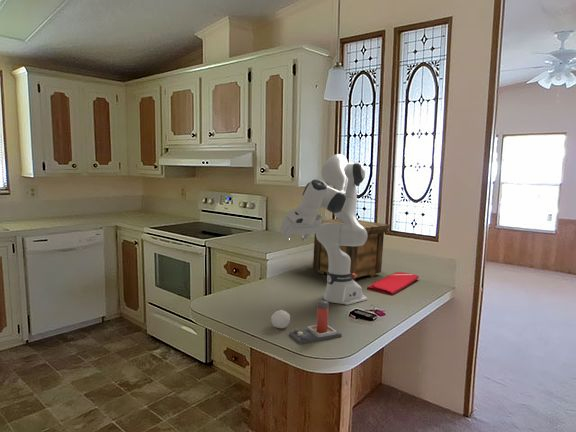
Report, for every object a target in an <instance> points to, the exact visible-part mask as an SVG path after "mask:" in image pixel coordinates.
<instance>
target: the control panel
mask: <svg viewBox="0 0 576 432" xmlns="http://www.w3.org/2000/svg"><path fill="white" fill-rule="evenodd" d="M342 334H343V333H342V332H340V331H339V330H337V329H336V328H334V327H333V326H332V325H329V324H328V330H327V332H325V333H319V332H317V324H314V325H308V326H307V327H306V328H305V329H299V328H294V329H293V330H292V331H289V332H288V335H289V336H290V337H291V338H292V339H294V340H295V341H296V342H297V344H299V345H302V344H308V343H315V342H319V341H325V340H329V339H335V338H340V337H341V338H342Z"/></svg>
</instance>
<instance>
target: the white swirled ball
mask: <svg viewBox="0 0 576 432" xmlns="http://www.w3.org/2000/svg"><path fill="white" fill-rule="evenodd" d="M270 321H271V323H272V325H273V326H274V327H275V328H277V329H285V328H286V327H288V325H289V324H290V321H291V315H290V313H288V311H286V310H283V309H279V310H276V311H274V313H272V314H271V317H270Z"/></svg>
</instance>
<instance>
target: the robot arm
mask: <svg viewBox="0 0 576 432" xmlns="http://www.w3.org/2000/svg"><path fill="white" fill-rule="evenodd" d="M320 175H321V178H322V180H321V179H318V178H317V179H315V178H314V179H312V180H311V181H310V182H308V183H306V185H305V187H304V190H303V192H302V199H301V202H300V204H299V205H298V206H297V207H296V208H294V209H291V210H288V211H286V214H285V215H286V216H285V217H284V219H283V221H282V222H281V224H280V228H279V231H280V233H281V234H282V235H283V236H284V237H285V238H284V241H285V243H290V241H291V238H290V237H291V236H298V235H299V236H300V235H301V241H302V242H306V241H307V239H308V238H309V237H310V236H311V234H312V235H313V234H314V235H315V233H316V238H317V240H318V241H319V242H320V243H321V244H322V245H323V246H324V247H325V249H326V251H327V254H328V262H329V266H328V271H327V274H326V282H327V283H326V288H325V292H324V296H323V299H324V300H325V301H328V302H329V303H332V304H333V303H335V304H341V305H342V304H343V305H347V306H348V305H353V304H356V303H360V302H361V303H362V302H364V301H367V300H368V298H367V297H368V296H366V295H364V293H363V288H362V286H361V285H360V284H359V283H358V282H356V281H354V280H353V278H352V277H354V278H356V277H357V275H356V274H354V273H353V274H352V273H351V272H350V265H351V259H350V257H349V255H348V254H346V253H345V252H343V251H342V250H341V249H340V247H339V246H340V245H341V246H352V247H355V246H362V245H364V244H365V242H366V241H367V236H368V235H367V231H366V229H365V228H364V227H363V226H362V225H361V224H360V223H359V222H358V221H357V220H358V218H357V216H356V215H357V214H356V211H357V200H358V194H357V193H358V192H357V187H359V186H360V184H361V183H362V182H364V179H365V178H366V177H365V176H366V169H365V166H364V164H363V163H362V162H356V161H355V162H348V159H347V158H346V157H345V155H343V154H341V153H336V154H333V155H332V156H330V157H329V158H327V160H326V161H325V162H324V164H323V165H322V167H321V171H320ZM323 180H324V181H323ZM320 208H323V209H325V210H327V211H329V212H330V213H332V214H334V217H335V219H339V220H340V221H342V222H343V223H344V224H338V223H323V224H321V221H322V220H323V215H322V214H319V210H320ZM357 278H358V277H357ZM357 278H356V279H357Z"/></svg>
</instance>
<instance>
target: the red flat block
mask: <svg viewBox="0 0 576 432" xmlns="http://www.w3.org/2000/svg"><path fill="white" fill-rule="evenodd" d="M418 279H419V275H418V274H412V273H408V272H404V271H403V272H402V271H397V272H394V273H392V274H390V275H387V276H385V277H383V278H381V279H379V280H377V281H375V282H372V283H371V285H369V286H367V287H366V290H368V291H372V292H375V293H376V292H377V293H381V294H384V295H388V296H393V295H395V294H396V293H398V292H400V291H402V290H403V289H406V287H408V286H410V285H412V284H413V283H414V282H416V281H417V280H418Z"/></svg>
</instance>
